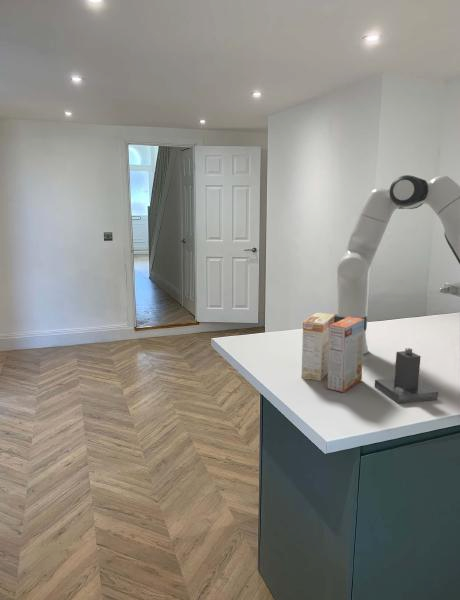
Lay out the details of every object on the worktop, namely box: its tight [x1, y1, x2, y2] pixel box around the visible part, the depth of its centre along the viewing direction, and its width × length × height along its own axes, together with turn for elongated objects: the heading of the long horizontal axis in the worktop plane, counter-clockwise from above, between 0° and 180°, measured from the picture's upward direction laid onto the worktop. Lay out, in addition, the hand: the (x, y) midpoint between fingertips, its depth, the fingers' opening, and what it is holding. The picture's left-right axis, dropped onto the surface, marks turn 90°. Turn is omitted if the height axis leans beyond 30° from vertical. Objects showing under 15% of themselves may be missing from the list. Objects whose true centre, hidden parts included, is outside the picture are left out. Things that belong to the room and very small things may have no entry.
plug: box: [394, 347, 421, 390], centre depth 139 cm, size 6×4×14 cm
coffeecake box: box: [301, 312, 336, 382], centre depth 156 cm, size 15×7×20 cm, turn 152°
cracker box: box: [326, 317, 364, 394], centre depth 145 cm, size 14×6×21 cm, turn 141°
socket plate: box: [374, 377, 439, 405], centre depth 140 cm, size 13×13×3 cm
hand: (451, 293), depth 143 cm, fingers open, 8 cm apart
